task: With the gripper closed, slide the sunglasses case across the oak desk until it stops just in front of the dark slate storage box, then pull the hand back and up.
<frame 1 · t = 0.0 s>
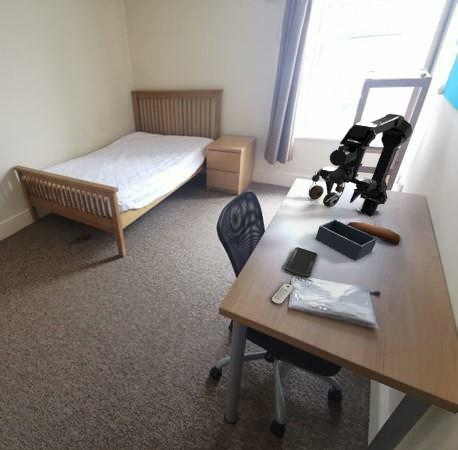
hand: (339, 198, 110), 15 cm above the table, tool pointing down, fingers open, 9 cm apart
headset: (321, 202, 138), on the table
box: (342, 245, 108), on the table
phone: (301, 263, 100), on the table
keychain: (282, 294, 88), on the table
sunglasses case: (371, 234, 114), on the table
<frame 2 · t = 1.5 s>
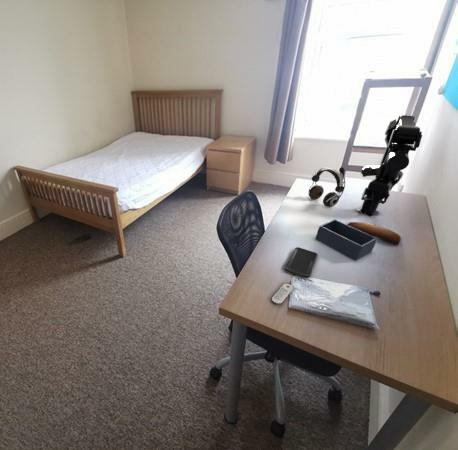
hand: (377, 199, 111), 13 cm above the table, tool pointing down, fingers open, 9 cm apart
nothing on the table moved.
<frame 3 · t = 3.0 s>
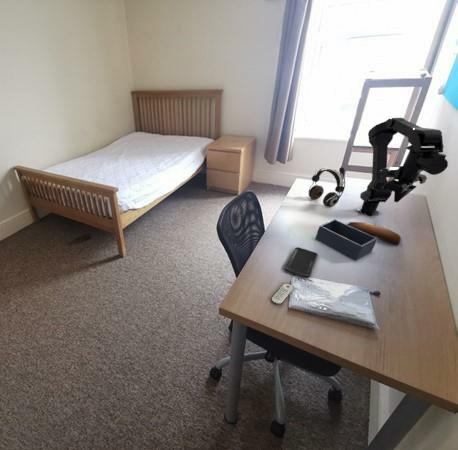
hand: (395, 201, 111), 12 cm above the table, tool pointing down, fingers closed
nothing on the table moved.
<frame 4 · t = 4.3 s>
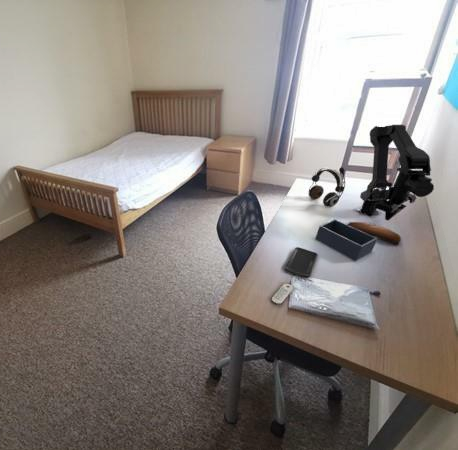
hand: (386, 219, 116), 4 cm above the table, tool pointing down, fingers closed
nothing on the table moved.
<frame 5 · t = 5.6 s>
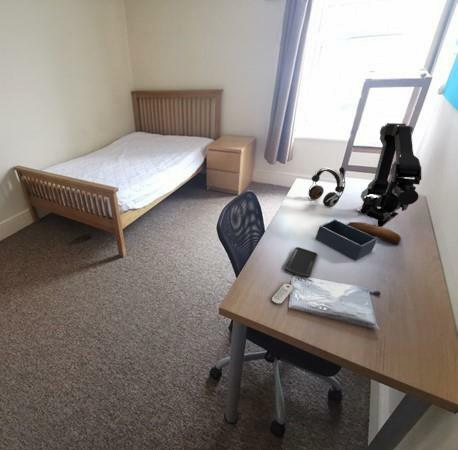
hand: (379, 227, 115), 2 cm above the table, tool pointing down, fingers closed
sunglasses case: (371, 234, 114), on the table, touching gripper
everything else where it was.
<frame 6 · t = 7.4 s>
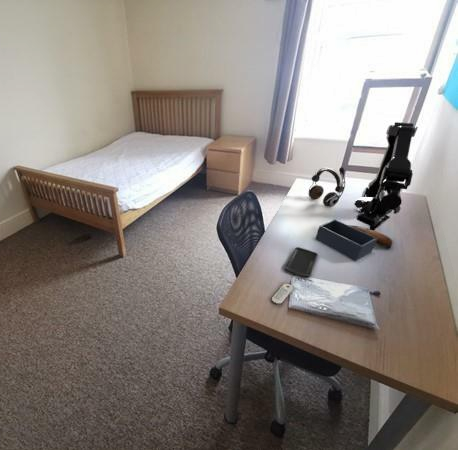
hand: (371, 230, 113), 2 cm above the table, tool pointing down, fingers closed
sunglasses case: (363, 237, 112), on the table, touching gripper
everything else where it was.
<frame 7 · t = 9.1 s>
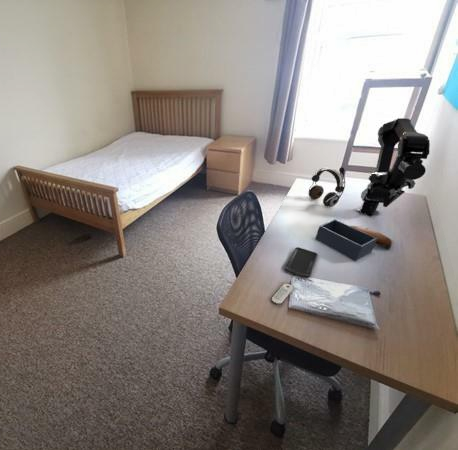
hand: (384, 206, 112), 10 cm above the table, tool pointing down, fingers closed
sunglasses case: (362, 237, 112), on the table
everything else where it was.
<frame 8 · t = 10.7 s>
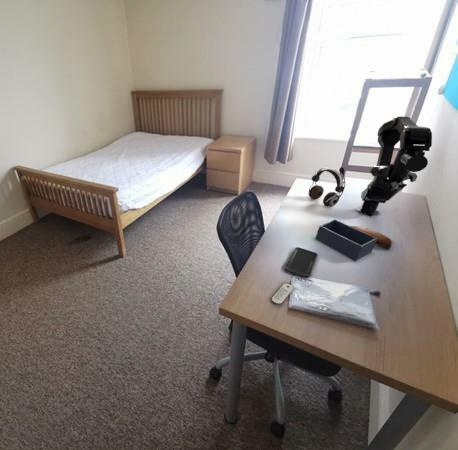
hand: (386, 200, 111), 13 cm above the table, tool pointing down, fingers closed
nothing on the table moved.
at the end: sunglasses case 12.4 cm from the box (horizontally); sunglasses case moved 5.5 cm from its start; sunglasses case inside the target area (3.0 cm from its centre), on the table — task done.
